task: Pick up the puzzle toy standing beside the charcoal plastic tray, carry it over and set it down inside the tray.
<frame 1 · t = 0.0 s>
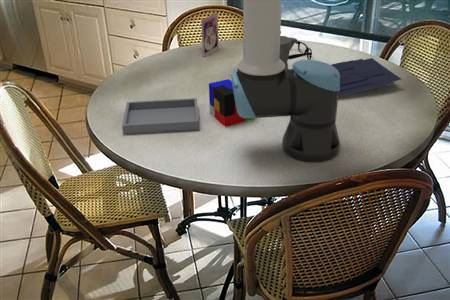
coffeepot: (273, 82, 169), on the table
tray: (162, 120, 145), on the table
puzzle toy: (232, 117, 147), on the table
greeting card: (205, 52, 196), on the table
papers: (344, 84, 167), on the table
glasses: (286, 59, 189), on the table
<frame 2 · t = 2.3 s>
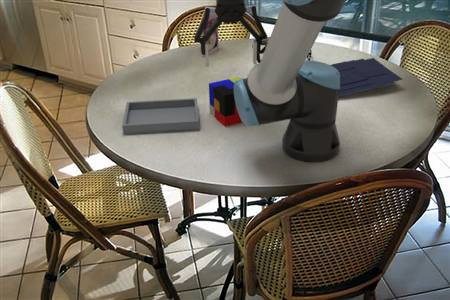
hand: (230, 64, 139), 16 cm above the table, fingers open, 13 cm apart
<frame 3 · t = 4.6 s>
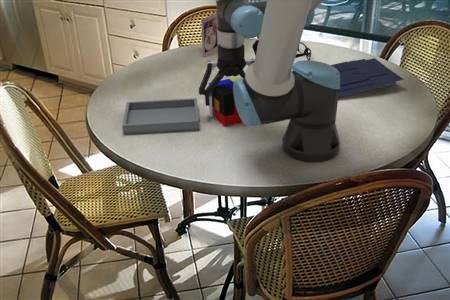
hand: (231, 113, 146), 1 cm above the table, fingers closed on puzzle toy, 12 cm apart
puzzle toy: (232, 116, 147), on the table, touching gripper
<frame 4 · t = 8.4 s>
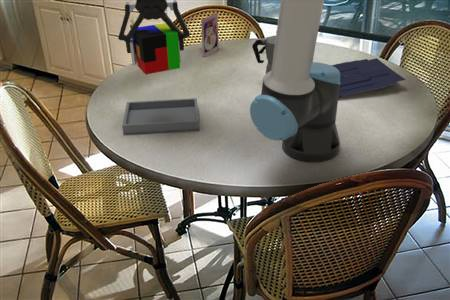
hand: (156, 62, 136), 18 cm above the table, fingers closed on puzzle toy, 12 cm apart
puzzle toy: (157, 66, 137), point 17 cm above the table, touching gripper
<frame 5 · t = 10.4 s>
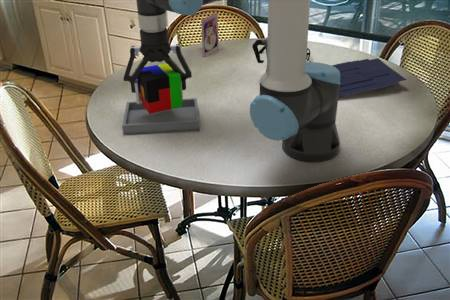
hand: (160, 101, 142), 6 cm above the table, fingers closed on puzzle toy, 12 cm apart
puzzle toy: (160, 104, 143), point 5 cm above the table, touching gripper
when the fingers open (3 cm above the table, at t = 12.2 s): puzzle toy drops 1 cm, resting on tray.
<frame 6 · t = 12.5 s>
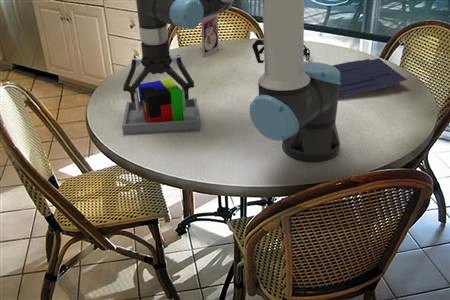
hand: (161, 110, 144), 3 cm above the table, fingers open, 13 cm apart
puzzle toy: (162, 118, 145), resting on tray
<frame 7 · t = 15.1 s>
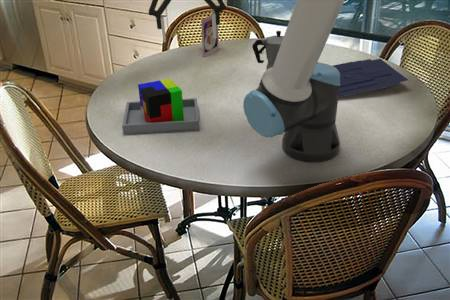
hand: (189, 38, 131), 25 cm above the table, fingers open, 13 cm apart
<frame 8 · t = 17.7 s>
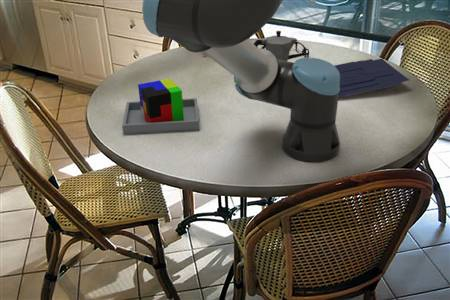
hand: (286, 3, 125), 35 cm above the table, fingers open, 13 cm apart
at the end: puzzle toy inside the target area on the tray (0.1 cm from its centre), point 0.4 cm above the tray's base; puzzle toy tilted 0°; the gripper is holding nothing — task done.
